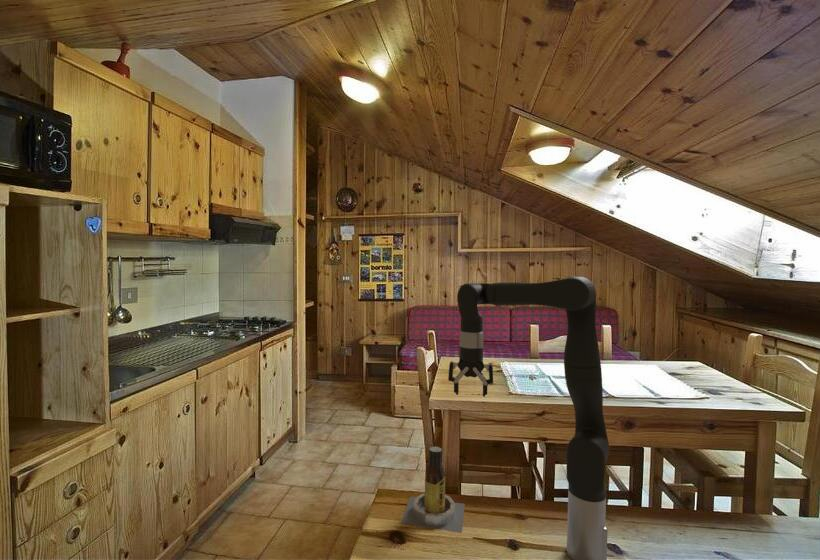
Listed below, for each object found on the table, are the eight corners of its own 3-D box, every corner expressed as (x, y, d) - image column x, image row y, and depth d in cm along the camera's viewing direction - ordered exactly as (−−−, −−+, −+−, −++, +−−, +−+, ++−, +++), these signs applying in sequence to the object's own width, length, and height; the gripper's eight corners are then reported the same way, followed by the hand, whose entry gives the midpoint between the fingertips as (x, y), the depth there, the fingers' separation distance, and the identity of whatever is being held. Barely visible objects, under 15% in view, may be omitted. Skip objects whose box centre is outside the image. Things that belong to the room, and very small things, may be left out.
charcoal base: (464, 507, 126) (464, 503, 126) (461, 536, 112) (461, 532, 112) (409, 500, 129) (410, 496, 129) (400, 527, 115) (400, 523, 115)
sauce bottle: (443, 521, 117) (444, 455, 116) (422, 518, 118) (423, 453, 117) (445, 508, 123) (446, 446, 123) (426, 505, 124) (427, 443, 124)
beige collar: (456, 504, 125) (456, 494, 125) (452, 529, 113) (452, 519, 113) (417, 499, 128) (418, 489, 128) (410, 523, 116) (410, 513, 116)
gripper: (493, 344, 128) (492, 393, 129) (450, 342, 131) (449, 390, 131) (494, 348, 121) (493, 400, 121) (448, 346, 124) (447, 397, 124)
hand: (470, 395), depth 126 cm, fingers open, 8 cm apart
